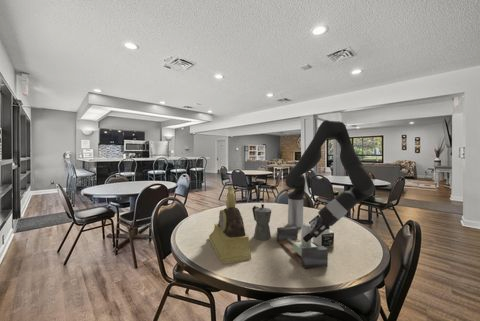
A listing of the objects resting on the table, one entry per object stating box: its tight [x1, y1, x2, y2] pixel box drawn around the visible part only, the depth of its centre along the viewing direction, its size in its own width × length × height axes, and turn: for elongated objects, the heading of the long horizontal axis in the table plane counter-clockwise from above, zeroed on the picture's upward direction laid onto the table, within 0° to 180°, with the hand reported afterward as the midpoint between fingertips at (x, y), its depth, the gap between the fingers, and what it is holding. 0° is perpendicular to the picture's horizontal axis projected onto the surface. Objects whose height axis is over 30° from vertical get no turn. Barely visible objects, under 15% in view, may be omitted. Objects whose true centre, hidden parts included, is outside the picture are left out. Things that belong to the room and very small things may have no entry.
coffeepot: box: [251, 203, 272, 241], centre depth 118 cm, size 15×9×18 cm, turn 33°
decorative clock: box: [208, 185, 252, 265], centre depth 103 cm, size 28×13×30 cm, turn 19°
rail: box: [276, 226, 329, 270], centre depth 99 cm, size 28×10×7 cm, turn 13°
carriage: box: [293, 223, 318, 256], centre depth 93 cm, size 8×8×12 cm
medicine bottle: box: [312, 224, 335, 248], centre depth 107 cm, size 7×7×12 cm
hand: (304, 236), depth 93 cm, fingers open, 8 cm apart
